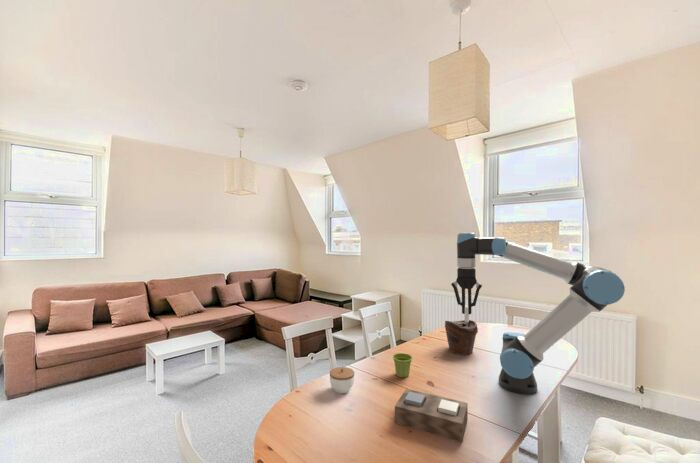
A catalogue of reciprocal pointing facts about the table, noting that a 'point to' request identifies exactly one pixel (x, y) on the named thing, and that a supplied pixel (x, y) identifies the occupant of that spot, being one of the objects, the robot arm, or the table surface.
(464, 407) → the key block
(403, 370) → the plant pot
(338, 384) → the lidded jar
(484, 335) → the table surface
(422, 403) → the slate key
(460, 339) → the brown tapered cylinder
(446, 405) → the cream key
